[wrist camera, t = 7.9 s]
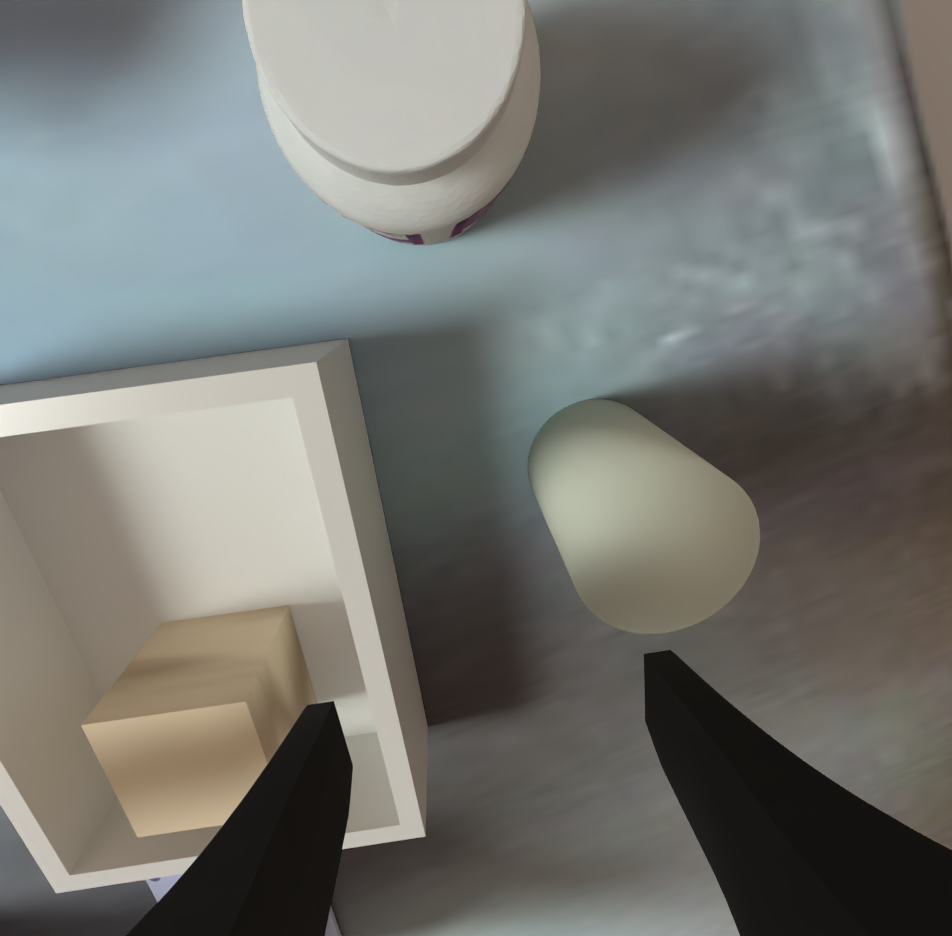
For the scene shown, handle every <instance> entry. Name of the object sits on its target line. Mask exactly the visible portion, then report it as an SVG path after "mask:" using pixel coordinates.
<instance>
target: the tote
mask: <svg viewBox="0 0 952 936" xmlns="http://www.w3.org/2000/svg"><path fill="white" fill-rule="evenodd" d="M286 605H289V607H290V610H291V614H292V617H293V621H294V624H295V628H296V631H297V634H298V638H299V641H300V645H301V648H302V652H303V655H304V659H305V662H306V666H307V669H308V672H309V676H310V679H311V683H312V686H313V690H314V693H315V697H316V700H317V703H324V702H330V701H334V703H335V707H336V710H337V714H338V717H339V720H340V724H341V727H342V730H343V734H344V737H345V740H346V744H347V747H348V751H349V754H350V757H351V761H352V764H353V773H352V786H351V797H350V807H349V816H348V821H347V827H346V832H345V837H344V842H343V847H342V849H348V848H354V847H361V846H367V845H374V844H380V843H387V842H393V841H400V840H406V839H413V838H419V837H426V794H427V748H428V725H427V720H426V716H425V711H424V706H423V701H422V696H421V691H420V687H419V682H418V677H417V672H416V667H415V662H414V657H413V653H412V648H411V643H410V638H409V633H408V628H407V623H406V619H405V614H404V609H403V604H402V599H401V594H400V589H399V585H398V580H397V575H396V570H395V565H394V560H393V555H392V551H391V546H390V541H389V536H388V531H387V526H386V521H385V517H384V512H383V507H382V502H381V497H380V492H379V487H378V483H377V478H376V473H375V468H374V463H373V458H372V454H371V449H370V444H369V439H368V434H367V429H366V424H365V420H364V415H363V410H362V405H361V400H360V395H359V390H358V386H357V381H356V376H355V371H354V366H353V361H352V356H351V352H350V347H349V342H348V339H341V340H333V341H326V342H318V343H311V344H303V345H296V346H289V347H281V348H274V349H266V350H259V351H252V352H244V353H237V354H229V355H222V356H214V357H207V358H200V359H192V360H185V361H177V362H170V363H163V364H155V365H148V366H140V367H133V368H126V369H118V370H111V371H103V372H96V373H88V374H81V375H74V376H66V377H59V378H51V379H44V380H37V381H29V382H22V383H14V384H7V385H0V805H1V806H2V808H3V810H4V811H5V813H6V814H7V816H8V818H9V819H10V821H11V822H12V824H13V825H14V827H15V829H16V830H17V832H18V833H19V835H20V837H21V838H22V840H23V841H24V843H25V845H26V846H27V848H28V849H29V851H30V853H31V854H32V856H33V857H34V859H35V860H36V862H37V864H38V865H39V867H40V868H41V870H42V872H43V873H44V875H45V876H46V878H47V880H48V881H49V883H50V884H51V886H52V888H53V889H54V891H55V892H56V893H62V892H68V891H75V890H81V889H88V888H94V887H101V886H107V885H114V884H120V883H127V882H133V881H140V880H146V879H153V878H159V877H166V876H172V875H179V874H184V872H185V871H186V870H187V869H188V868H189V867H190V866H191V864H192V863H193V862H194V861H195V860H196V858H197V857H198V856H199V855H200V854H201V852H202V851H203V850H204V849H205V847H206V846H207V845H208V844H209V842H210V841H211V840H212V839H213V837H214V836H215V835H216V834H217V832H218V831H219V830H220V828H221V827H222V826H223V825H219V826H212V827H205V828H199V829H192V830H185V831H178V832H172V833H165V834H158V835H151V836H145V837H137V835H136V833H135V831H134V829H133V828H132V826H131V824H130V822H129V820H128V818H127V816H126V814H125V812H124V810H123V808H122V806H121V804H120V802H119V800H118V798H117V796H116V794H115V792H114V790H113V788H112V786H111V784H110V782H109V780H108V778H107V776H106V774H105V772H104V770H103V768H102V766H101V764H100V762H99V760H98V758H97V756H96V754H95V752H94V750H93V748H92V746H91V744H90V742H89V740H88V738H87V736H86V734H85V732H84V730H83V728H82V726H81V725H82V723H83V722H84V721H85V719H86V718H87V717H88V716H89V714H90V713H91V712H92V711H93V709H94V708H95V707H96V705H97V704H98V703H99V702H100V700H101V699H102V698H103V697H104V695H105V694H106V693H107V691H108V690H109V689H110V688H111V686H112V685H113V684H114V683H115V681H116V680H117V679H118V677H119V676H120V675H121V674H122V672H123V671H124V670H125V669H126V667H127V666H128V665H129V664H130V662H131V661H132V660H133V658H134V657H135V656H136V655H137V653H138V652H139V651H140V650H141V648H142V647H143V646H144V644H145V643H146V642H147V641H148V639H149V638H150V637H151V636H152V634H153V633H154V632H155V630H156V629H157V628H158V627H159V625H160V624H161V623H164V622H171V621H178V620H185V619H192V618H200V617H207V616H214V615H221V614H228V613H235V612H243V611H250V610H257V609H264V608H271V607H279V606H286Z"/></svg>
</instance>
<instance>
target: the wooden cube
mask: <svg viewBox="0 0 952 936" xmlns="http://www.w3.org/2000/svg"><path fill="white" fill-rule="evenodd" d="M311 704H317V700H316V697H315V693H314V690H313V686H312V683H311V679H310V676H309V672H308V669H307V666H306V662H305V659H304V655H303V652H302V648H301V645H300V641H299V638H298V634H297V631H296V628H295V624H294V621H293V617H292V614H291V610H290V607H289V605H286V606H279V607H271V608H264V609H257V610H250V611H243V612H235V613H228V614H221V615H214V616H207V617H200V618H192V619H185V620H178V621H171V622H164V623H161V624H160V625H159V627H158V628H157V629H156V630H155V632H154V633H153V634H152V636H151V637H150V638H149V639H148V641H147V642H146V643H145V644H144V646H143V647H142V648H141V650H140V651H139V652H138V653H137V655H136V656H135V657H134V658H133V660H132V661H131V662H130V664H129V665H128V666H127V667H126V669H125V670H124V671H123V672H122V674H121V675H120V676H119V677H118V679H117V680H116V681H115V683H114V684H113V685H112V686H111V688H110V689H109V690H108V691H107V693H106V694H105V695H104V697H103V698H102V699H101V700H100V702H99V703H98V704H97V705H96V707H95V708H94V709H93V711H92V712H91V713H90V714H89V716H88V717H87V718H86V719H85V721H84V722H83V723H82V725H81V726H82V728H83V730H84V732H85V734H86V736H87V738H88V740H89V742H90V744H91V746H92V748H93V750H94V752H95V754H96V756H97V758H98V760H99V762H100V764H101V766H102V768H103V770H104V772H105V774H106V776H107V778H108V780H109V782H110V784H111V786H112V788H113V790H114V792H115V794H116V796H117V798H118V800H119V802H120V804H121V806H122V808H123V810H124V812H125V814H126V816H127V818H128V820H129V822H130V824H131V826H132V828H133V829H134V831H135V833H136V835H137V837H145V836H151V835H158V834H165V833H172V832H178V831H185V830H192V829H199V828H205V827H212V826H219V825H223V824H224V823H225V822H226V821H227V819H228V818H229V817H230V815H231V814H232V813H233V811H234V810H235V809H236V807H237V806H238V805H239V803H240V802H241V801H242V799H243V798H244V797H245V795H246V794H247V793H248V791H249V790H250V788H251V787H252V785H253V784H254V783H255V781H256V780H257V778H258V777H259V775H260V774H261V773H262V771H263V770H264V768H265V767H266V765H267V764H268V763H269V761H270V760H271V758H272V757H273V755H274V754H275V752H276V751H277V749H278V748H279V746H280V745H281V743H282V742H283V740H284V739H285V737H286V736H287V734H288V733H289V731H290V730H291V728H292V727H293V725H294V724H295V722H296V720H297V719H298V717H299V716H300V714H301V713H302V711H303V710H304V709H305V707H306V706H307V705H311Z"/></svg>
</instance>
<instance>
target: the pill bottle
mask: <svg viewBox="0 0 952 936" xmlns="http://www.w3.org/2000/svg"><path fill="white" fill-rule="evenodd" d="M242 7H243V15H244V21H245V25H246V30H247V35H248V39H249V43H250V46H251V50H252V53H253V57H254V59H255V61H256V70H257V78H258V85H259V90H260V94H261V99H262V103H263V107H264V110H265V113H266V116H267V118H268V121H269V124H270V127H271V129H272V131H273V134H274V136H275V138H276V140H277V142H278V144H279V146H280V148H281V150H282V151H283V153H284V155H285V157H286V158H287V160H288V161H289V163H290V164H291V166H292V167H293V168H294V170H295V171H296V172H297V174H298V175H299V176H300V178H301V179H302V180H303V181H304V182H305V183H306V184H307V186H308V187H309V188H310V189H311V190H312V191H313V192H314V193H315V194H316V195H317V196H318V197H319V198H320V199H321V200H322V201H323V202H325V203H326V204H327V205H329V206H330V207H331V208H333V209H334V210H335V211H337V212H338V213H340V214H341V215H342V216H343V217H345V218H347V219H350V220H352V221H354V222H356V223H358V224H360V225H361V226H363V227H365V228H367V229H369V230H371V231H373V232H375V233H376V234H378V235H380V236H383V237H385V238H388V239H391V240H393V241H396V242H400V243H404V244H410V245H432V244H438V243H442V242H445V241H448V240H450V239H453V238H455V237H457V236H459V235H460V234H462V233H464V232H465V231H466V230H468V229H469V228H471V227H472V226H473V225H474V224H475V223H476V222H477V221H478V220H479V219H480V218H481V217H482V216H483V215H484V214H485V213H486V211H487V210H488V208H489V207H490V206H491V204H492V203H493V202H494V200H495V199H496V198H497V197H498V195H499V194H500V193H501V192H502V191H503V189H504V188H505V186H506V185H507V183H508V182H509V180H510V179H511V177H512V176H513V174H514V173H515V171H516V170H517V168H518V166H519V165H520V163H521V160H522V158H523V156H524V154H525V153H526V150H527V148H528V145H529V142H530V139H531V135H532V132H533V128H534V125H535V121H536V117H537V111H538V104H539V96H540V84H541V67H540V52H539V43H538V38H537V33H536V29H535V24H534V20H533V16H532V13H531V9H530V6H529V4H528V1H527V0H242Z"/></svg>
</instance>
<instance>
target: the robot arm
mask: <svg viewBox="0 0 952 936" xmlns="http://www.w3.org/2000/svg"><path fill="white" fill-rule="evenodd" d="M644 677H645V721H646V724H647V727H648V730H649V733H650V735H651V738H652V741H653V744H654V747H655V749H656V752H657V755H658V757H659V760H660V763H661V765H662V768H663V770H664V772H665V774H666V776H667V778H668V780H669V782H670V784H671V786H672V788H673V790H674V792H675V795H676V797H677V799H678V801H679V803H680V805H681V807H682V809H683V811H684V813H685V815H686V817H687V819H688V821H689V823H690V825H691V827H692V829H693V831H694V833H695V835H696V837H697V839H698V841H699V843H700V845H701V847H702V849H703V851H704V853H705V855H706V857H707V859H708V862H709V864H710V866H711V868H712V870H713V872H714V874H715V876H716V878H717V880H718V883H719V885H720V887H721V889H722V892H723V894H724V896H725V898H726V901H727V903H728V906H729V908H730V911H731V913H732V916H733V918H734V921H735V923H736V926H737V928H738V931H739V933H740V936H952V850H950V849H948V848H946V847H944V846H942V845H940V844H939V843H937V842H935V841H933V840H931V839H929V838H927V837H926V836H924V835H922V834H920V833H918V832H917V831H915V830H913V829H911V828H909V827H908V826H906V825H904V824H903V823H901V822H899V821H897V820H896V819H894V818H892V817H891V816H889V815H887V814H885V813H884V812H882V811H880V810H879V809H877V808H875V807H873V806H872V805H870V804H868V803H867V802H865V801H863V800H862V799H860V798H859V797H857V796H855V795H854V794H852V793H851V792H849V791H847V790H846V789H844V788H843V787H841V786H840V785H838V784H837V783H835V782H834V781H832V780H831V779H829V778H828V777H826V776H825V775H823V774H822V773H820V772H819V771H817V770H816V769H814V768H813V767H811V766H810V765H809V764H807V763H806V762H804V761H803V760H802V759H800V758H799V757H797V756H796V755H795V754H793V753H792V752H791V751H789V750H788V749H787V748H785V747H784V746H783V745H781V744H780V743H779V742H777V741H776V740H775V739H773V738H772V737H771V736H770V735H768V734H767V733H766V732H764V731H763V730H762V729H761V728H759V727H758V726H757V725H756V724H754V723H753V722H752V721H751V720H750V719H748V718H747V717H746V716H745V715H744V714H742V713H741V712H740V711H739V710H738V709H736V708H735V707H734V706H733V705H732V704H730V703H729V702H728V701H727V700H726V699H725V698H723V697H722V696H721V695H720V694H719V693H718V692H716V691H715V690H714V689H713V688H712V687H711V686H710V685H709V684H707V683H706V682H705V681H704V680H703V679H702V678H701V677H700V676H699V675H698V674H696V673H695V672H694V671H693V670H692V669H691V668H690V667H689V666H688V665H687V664H686V663H684V662H683V661H682V660H681V659H680V658H679V657H678V656H677V655H676V654H675V653H673V652H672V651H671V650H667V651H661V652H654V653H648V654H644ZM352 773H353V764H352V761H351V757H350V754H349V751H348V747H347V744H346V740H345V737H344V734H343V730H342V727H341V724H340V720H339V717H338V714H337V710H336V707H335V703H334V701H330V702H324V703H317V704H311V705H307V706H306V707H305V709H304V710H303V711H302V713H301V714H300V716H299V717H298V719H297V720H296V722H295V724H294V725H293V727H292V728H291V730H290V731H289V733H288V734H287V736H286V737H285V739H284V740H283V742H282V743H281V745H280V746H279V748H278V749H277V751H276V752H275V754H274V755H273V757H272V758H271V760H270V761H269V763H268V764H267V765H266V767H265V768H264V770H263V771H262V773H261V774H260V775H259V777H258V778H257V780H256V781H255V783H254V784H253V785H252V787H251V788H250V790H249V791H248V793H247V794H246V795H245V797H244V798H243V799H242V801H241V802H240V803H239V805H238V806H237V807H236V809H235V810H234V811H233V813H232V814H231V815H230V817H229V818H228V819H227V821H226V822H225V823H224V824H223V826H222V827H221V828H220V830H219V831H218V832H217V834H216V835H215V836H214V837H213V839H212V840H211V841H210V842H209V844H208V845H207V846H206V847H205V849H204V850H203V851H202V852H201V854H200V855H199V856H198V857H197V858H196V860H195V861H194V862H193V863H192V864H191V866H190V867H189V868H188V869H187V870H186V871H185V872H184V874H179V875H172V876H166V877H159V878H153V879H146V882H147V883H148V885H149V887H150V889H151V891H152V893H153V895H154V897H155V899H156V900H157V902H158V903H157V904H156V905H155V906H154V907H153V908H152V909H151V910H150V911H149V912H148V913H147V914H146V915H145V916H144V917H143V918H142V919H141V921H140V922H139V923H138V924H137V925H136V926H135V927H134V928H133V929H132V930H131V931H130V932H129V933H128V934H127V935H126V936H341V933H340V930H339V927H338V924H337V921H336V919H335V916H334V913H333V910H332V907H331V902H332V897H333V892H334V887H335V882H336V877H337V872H338V867H339V862H340V857H341V852H342V847H343V842H344V837H345V832H346V827H347V821H348V816H349V807H350V797H351V786H352Z"/></svg>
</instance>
